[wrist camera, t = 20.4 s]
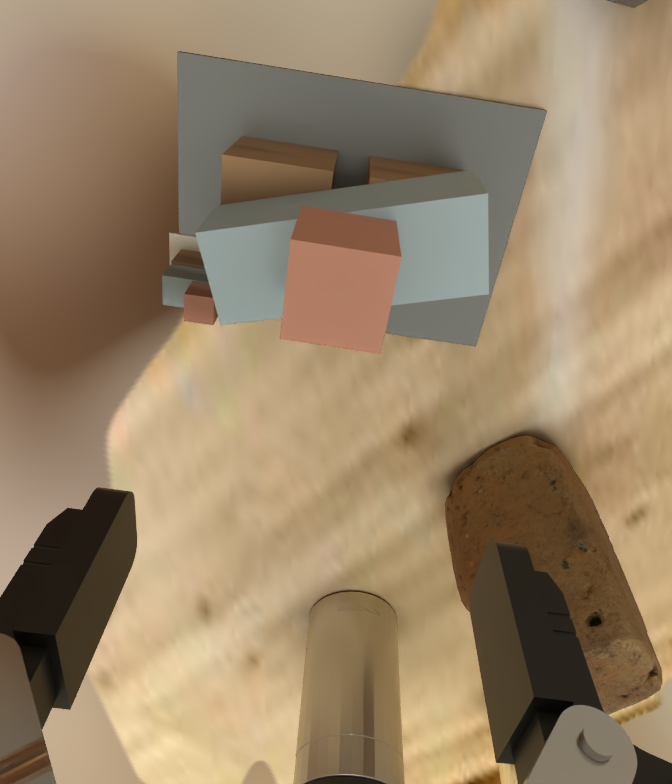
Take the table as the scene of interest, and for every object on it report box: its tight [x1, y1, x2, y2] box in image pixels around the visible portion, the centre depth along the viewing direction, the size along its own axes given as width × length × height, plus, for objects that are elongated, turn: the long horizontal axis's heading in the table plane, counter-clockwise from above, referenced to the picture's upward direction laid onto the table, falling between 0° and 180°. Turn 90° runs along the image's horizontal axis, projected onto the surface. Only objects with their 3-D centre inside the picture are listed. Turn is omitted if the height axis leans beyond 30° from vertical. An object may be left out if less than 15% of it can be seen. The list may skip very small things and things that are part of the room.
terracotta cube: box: [280, 206, 401, 354], centre depth 27 cm, size 4×4×5 cm
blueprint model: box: [162, 232, 218, 325], centre depth 38 cm, size 4×7×7 cm, turn 82°
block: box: [445, 435, 662, 715], centre depth 42 cm, size 11×8×20 cm
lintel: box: [195, 170, 489, 325], centre depth 31 cm, size 5×14×5 cm, turn 98°
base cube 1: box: [365, 156, 464, 185], centre depth 36 cm, size 6×6×6 cm
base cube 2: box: [221, 136, 338, 205], centre depth 35 cm, size 6×6×6 cm
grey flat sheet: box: [177, 51, 547, 346], centre depth 39 cm, size 16×22×1 cm
